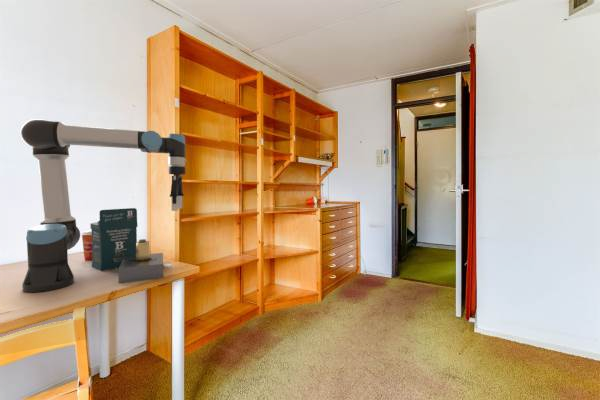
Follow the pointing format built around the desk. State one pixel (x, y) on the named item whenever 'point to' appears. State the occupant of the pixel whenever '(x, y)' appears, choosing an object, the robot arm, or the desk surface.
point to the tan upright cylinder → (142, 251)
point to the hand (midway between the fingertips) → (177, 209)
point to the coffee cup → (87, 244)
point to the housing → (141, 268)
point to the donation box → (113, 238)
